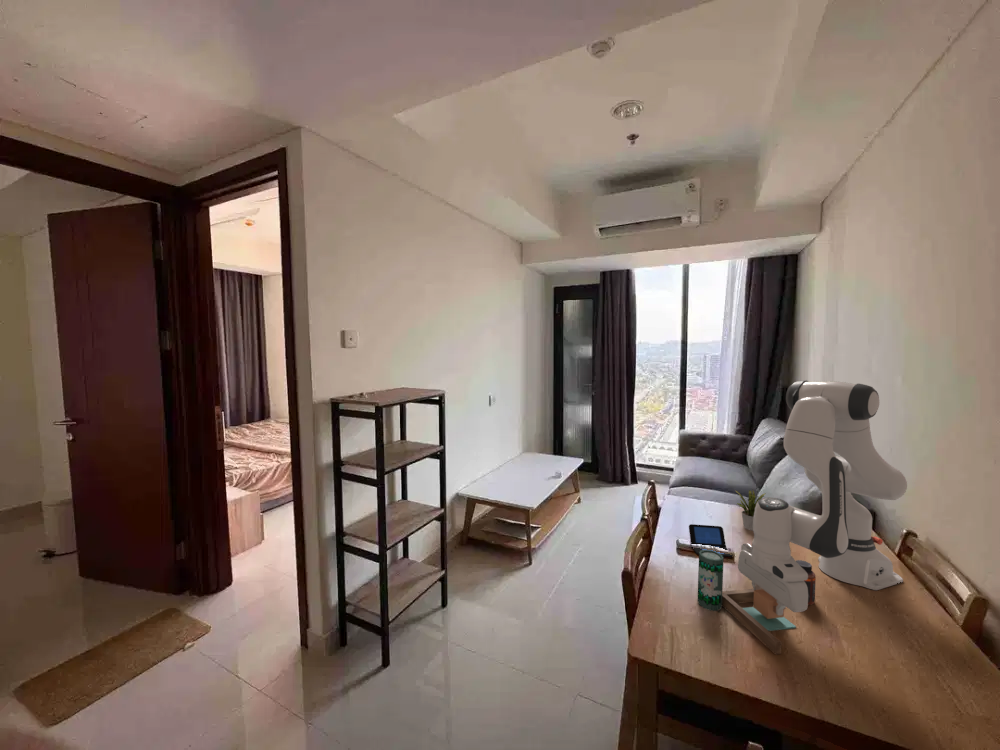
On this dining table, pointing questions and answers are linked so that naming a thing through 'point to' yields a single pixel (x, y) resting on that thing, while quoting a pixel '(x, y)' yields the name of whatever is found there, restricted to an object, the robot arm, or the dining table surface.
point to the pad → (769, 620)
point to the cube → (765, 604)
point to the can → (710, 580)
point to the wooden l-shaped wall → (749, 617)
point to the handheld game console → (708, 537)
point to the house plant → (749, 510)
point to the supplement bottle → (809, 580)
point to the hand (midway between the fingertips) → (768, 606)
